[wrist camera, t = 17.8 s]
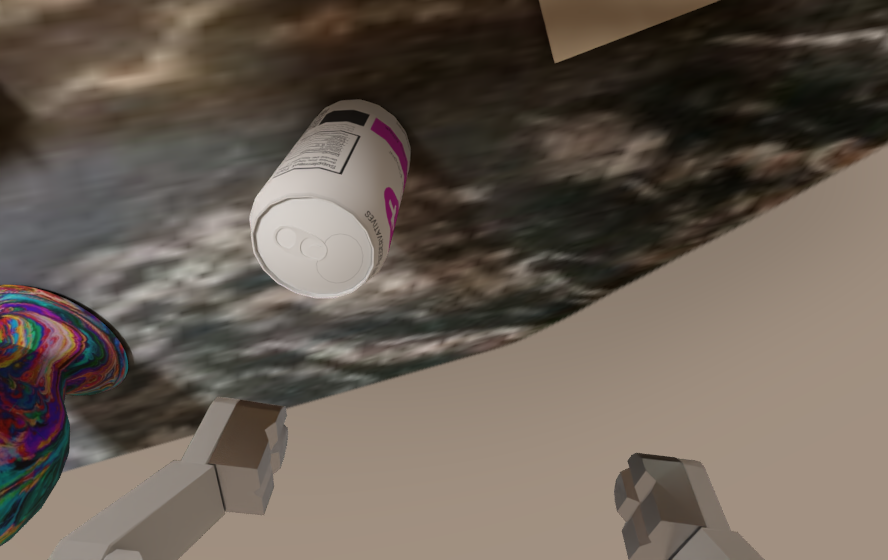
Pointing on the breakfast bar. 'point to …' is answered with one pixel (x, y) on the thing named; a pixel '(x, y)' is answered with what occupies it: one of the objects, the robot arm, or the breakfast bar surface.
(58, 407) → the vase
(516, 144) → the breakfast bar surface
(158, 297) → the breakfast bar surface
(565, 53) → the board
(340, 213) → the supplement can
